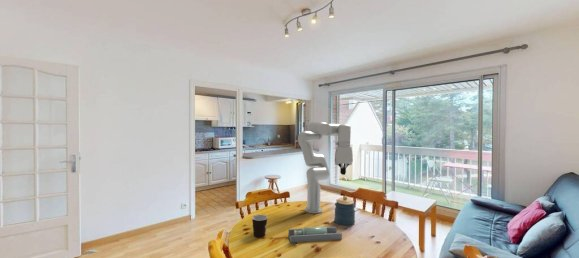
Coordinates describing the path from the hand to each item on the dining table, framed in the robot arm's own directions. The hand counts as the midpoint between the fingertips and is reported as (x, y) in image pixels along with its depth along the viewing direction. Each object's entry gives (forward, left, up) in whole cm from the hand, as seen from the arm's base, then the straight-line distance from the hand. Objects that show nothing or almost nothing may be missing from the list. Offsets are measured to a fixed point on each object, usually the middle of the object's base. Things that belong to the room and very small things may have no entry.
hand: (342, 174), depth 146 cm
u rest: (+12, -20, -33) cm, 41 cm away
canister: (-6, +5, -33) cm, 34 cm away
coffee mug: (+3, -49, -33) cm, 60 cm away
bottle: (+12, -14, -29) cm, 35 cm away
